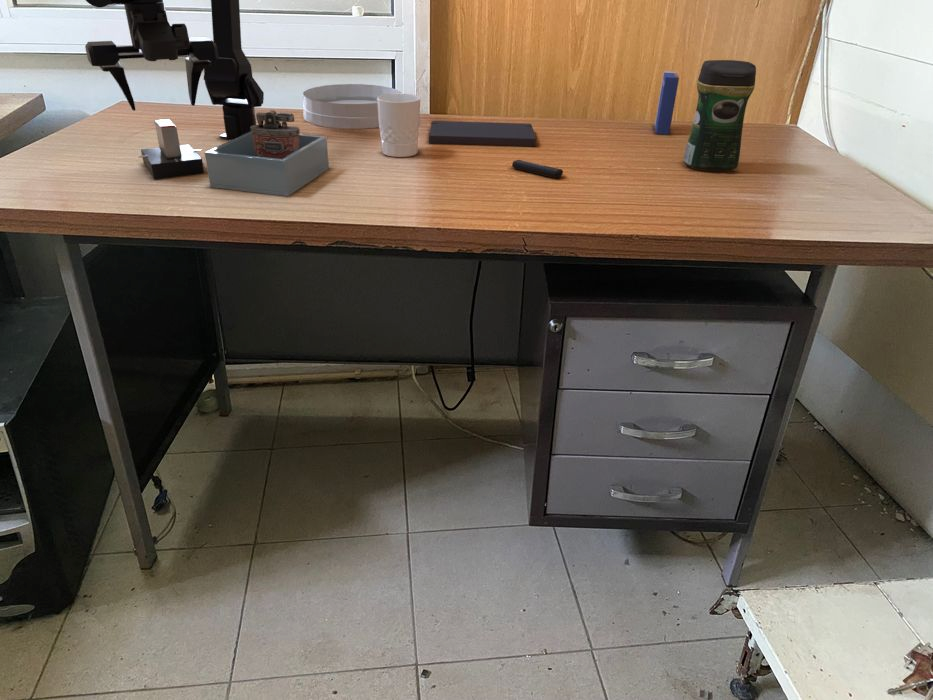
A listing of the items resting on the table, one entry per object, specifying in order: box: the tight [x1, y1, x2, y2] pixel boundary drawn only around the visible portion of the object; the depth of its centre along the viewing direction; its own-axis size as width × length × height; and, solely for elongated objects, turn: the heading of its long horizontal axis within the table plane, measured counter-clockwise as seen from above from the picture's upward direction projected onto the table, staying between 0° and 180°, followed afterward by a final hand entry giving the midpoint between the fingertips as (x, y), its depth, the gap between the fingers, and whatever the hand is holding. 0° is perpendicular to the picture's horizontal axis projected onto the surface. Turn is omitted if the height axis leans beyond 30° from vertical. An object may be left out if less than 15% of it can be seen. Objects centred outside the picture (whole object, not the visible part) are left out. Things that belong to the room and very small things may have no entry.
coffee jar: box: [683, 59, 757, 172], centre depth 126 cm, size 10×8×19 cm
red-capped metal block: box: [154, 118, 182, 159], centre depth 117 cm, size 6×2×5 cm, turn 31°
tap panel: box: [138, 143, 205, 180], centre depth 119 cm, size 10×10×3 cm
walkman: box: [654, 70, 680, 136], centre depth 151 cm, size 8×3×12 cm, turn 169°
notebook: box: [428, 120, 537, 147], centre depth 144 cm, size 13×2×21 cm
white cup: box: [377, 92, 421, 158], centre depth 130 cm, size 8×8×10 cm
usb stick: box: [511, 159, 564, 179], centre depth 124 cm, size 10×3×2 cm, turn 54°
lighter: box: [250, 109, 301, 159], centre depth 115 cm, size 8×3×10 cm, turn 84°
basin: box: [204, 131, 330, 197], centre depth 116 cm, size 16×14×6 cm
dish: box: [302, 83, 403, 130], centre depth 155 cm, size 22×22×5 cm
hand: (163, 107), depth 115 cm, fingers open, 9 cm apart
